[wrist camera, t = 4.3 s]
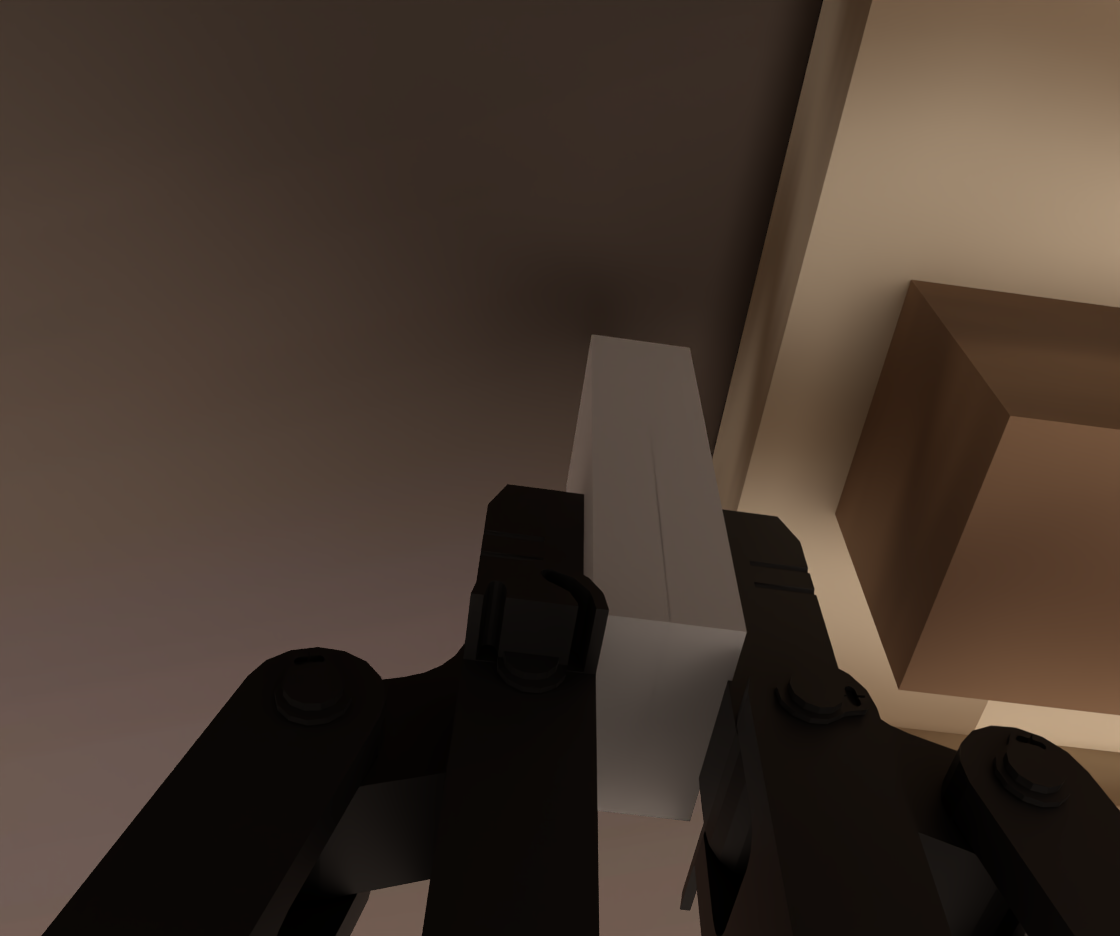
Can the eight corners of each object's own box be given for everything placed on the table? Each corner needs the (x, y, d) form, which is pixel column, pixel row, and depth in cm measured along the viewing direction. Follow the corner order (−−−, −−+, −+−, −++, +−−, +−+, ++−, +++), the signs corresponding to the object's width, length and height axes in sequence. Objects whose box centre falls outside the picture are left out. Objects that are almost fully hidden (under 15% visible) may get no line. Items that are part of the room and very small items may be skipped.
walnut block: (910, 279, 16) (1010, 415, 12) (1186, 316, 17) (1366, 461, 13) (834, 514, 19) (898, 689, 15) (1076, 543, 19) (1201, 725, 15)
